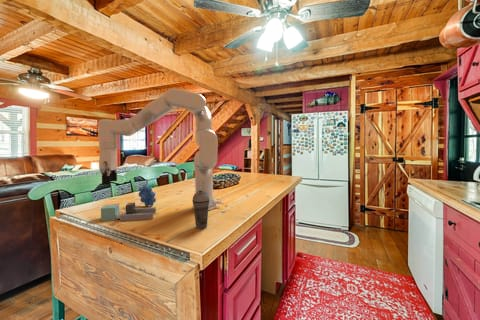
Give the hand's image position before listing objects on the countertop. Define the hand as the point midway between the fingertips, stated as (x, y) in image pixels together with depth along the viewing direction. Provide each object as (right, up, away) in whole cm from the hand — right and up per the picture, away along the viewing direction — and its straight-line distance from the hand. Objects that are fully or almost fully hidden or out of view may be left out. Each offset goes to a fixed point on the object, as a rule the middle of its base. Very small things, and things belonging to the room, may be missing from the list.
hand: (109, 182), depth 107 cm
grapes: (+8, -16, +21) cm, 28 cm away
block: (0, -17, +1) cm, 17 cm away
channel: (+12, -17, +4) cm, 21 cm away
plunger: (+6, -17, +3) cm, 18 cm away
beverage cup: (+45, -18, -10) cm, 49 cm away
